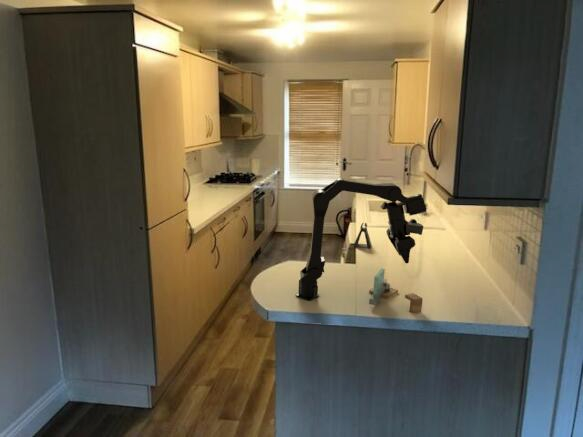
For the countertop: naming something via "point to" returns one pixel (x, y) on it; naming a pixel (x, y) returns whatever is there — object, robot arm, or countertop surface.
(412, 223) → the robot arm
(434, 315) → the countertop surface
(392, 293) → the pintle block
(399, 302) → the countertop surface
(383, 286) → the link
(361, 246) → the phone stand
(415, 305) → the block
